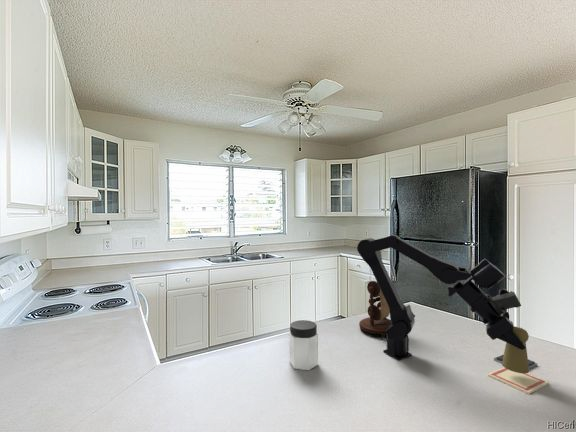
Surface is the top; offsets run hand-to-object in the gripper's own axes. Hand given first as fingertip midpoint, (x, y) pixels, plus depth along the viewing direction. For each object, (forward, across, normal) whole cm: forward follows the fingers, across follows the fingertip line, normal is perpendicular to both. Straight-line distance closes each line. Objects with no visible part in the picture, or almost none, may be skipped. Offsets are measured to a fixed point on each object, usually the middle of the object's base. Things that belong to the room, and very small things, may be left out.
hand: (522, 345), depth 84 cm
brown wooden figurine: (-23, +18, +38) cm, 47 cm away
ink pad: (+7, +11, +7) cm, 15 cm away
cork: (+4, 0, +6) cm, 7 cm away
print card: (+6, 0, +8) cm, 10 cm away
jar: (-32, -20, +47) cm, 61 cm away
